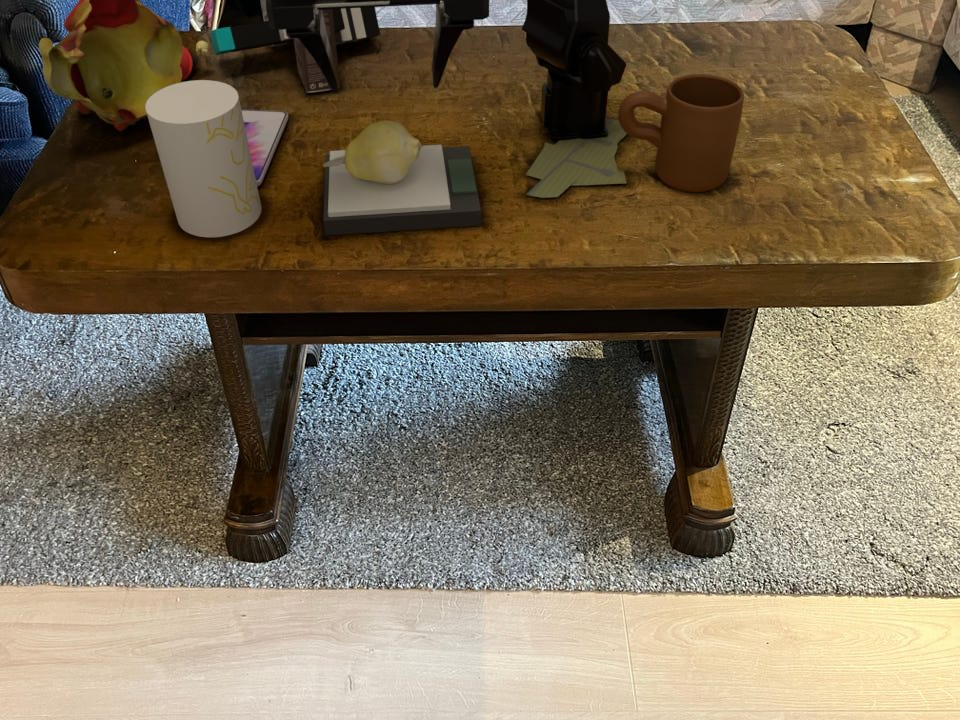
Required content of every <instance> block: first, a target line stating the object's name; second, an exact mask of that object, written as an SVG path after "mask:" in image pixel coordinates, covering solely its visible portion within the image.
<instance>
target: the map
mask: <svg viewBox="0 0 960 720" xmlns="http://www.w3.org/2000/svg"><path fill="white" fill-rule="evenodd" d="M605 125H606V127H607V130H608V132H609V133H608V136H607V137H604V138H593V139H570V140H560V141H556V143H555V144H554V143H553V144H552V143H549V142H544V145H543V148H542V150H541V152H540V153H539V154H538V155H537V157H536V158H535V160H534V162H533V163H532V165H530V168H529V169H528V171H527V172H526V174H525V175H526V176H527V177H528V176H529V177H532V178H534V179H535V178H536V179H539V182H537V183H536V184H535V185H534V186H533V187H532V188H531V189H530V190H529V191H528V192H527V193H526V195H527V196H530V197H535V198H541V199H546V198H547V199H548V198H559V197H560V195H562V194H563V193H564V192H565V191H566V190H567V189H569V187H570V186H571V187H572V186H573V187H574V186H595V185H596V186H597V185H598V186H599V185H618V184H627V179H626V174H625V171H623V170H619V169H618V166H617V163H616V160H615V155H616V153H617V150H618V148H619V146H618V144H619V143H620V141H621V140H622V139H624V137H626V136H627V135H628V134H627V133H626V132H625V131H624V130H623V128H622V126H621V125H620V122H619V119H614V118H607V117H606V120H605Z"/></svg>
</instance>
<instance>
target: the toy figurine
mask: <svg viewBox="0 0 960 720" xmlns="http://www.w3.org/2000/svg"><path fill="white" fill-rule="evenodd" d="M183 49H184V52H183V54H182V57H181V62H180V67H181V69H182V79H181V82H184V80H186V79H187V78H189V76H190V75H191V73H192V70H194V69H195V68H196V67H197V66H198V64H199V58H197V57H196V56H198V57H200V56H201V57H207V58H208V57H210V52H209V50H210V46H209V43H208V42H207V41H205V40H199V41H197V43H196V45H195V53H196V56H195V55H194V54H193V53H192V52H191V50H189V48H187V47H186V46H184V45H183Z"/></svg>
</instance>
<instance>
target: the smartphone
mask: <svg viewBox="0 0 960 720" xmlns="http://www.w3.org/2000/svg"><path fill="white" fill-rule="evenodd" d="M241 111H242V115H243V120H244V125H245V130H246V135H247V140H248V145H249V149H250V154H251V159H252V164H253V169H254V174H255V179H256V183H257V187H259V186H261V185H262V183H263V181H264V179H265V176H266V174H267V172H268V169H269V167H270V164H271V162H272V159H273V157H274V154H275V152H276V151H277V147H278V146H279V143H280V140H281V137H282V135H283V133H284V130H285V128H286V126H287V123H288V120H289V114H288V112H286V111H284V110H267V109H265V110H264V109H242V108H241Z"/></svg>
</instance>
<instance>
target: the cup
mask: <svg viewBox="0 0 960 720" xmlns="http://www.w3.org/2000/svg"><path fill="white" fill-rule="evenodd" d="M145 109H146V112H147V119H148V123H149V127H150V130H151V133H152V136H153V137H152V138H153V140H154V144H155V147H156V150H157V154H158V158H159V161H160V165H161V169H162V172H163V175H164V179H165V182H166V185H167V189H168V193H169V195H170V199H171V203H172V206H173V209H174V213H175V216H176V220H177V223H178V225H179V227H180V228H181V229H182V230H183V231H184V232H185V233H188V234H190V235H192V236H196V237H201V238H222V237H228V236H231V235H234V234H237V233H240V232H242V231H244V230H246V229H248V228H250V227H251V226H252V225H254V224H255V223H256V222H257V221H258V219H259V218H260V216H261V214H262V204H261V203H262V202H261V199H260V193H259V188H258V186H257V183H256V179H255V174H254V169H253V164H252V159H251V154H250V149H249V145H248V140H247V135H246V130H245V125H244V120H243V115H242V111H241V109H242V107H241V102H240V96H239V93H238V91H237V89H236V88H234V87H233V86H232V85H230V84H229V83H228V84H227V83H225V82H222V81H218V80H210V79H197V80H195V79H193V80H188V81H186V80H185V81H181V83H177V84H173V85H170V86H168V87H165V88H163V89H161V90H159V91H157V92H156V93H154V94H153V95H152V96H151V97H150V98H149V99H148V100H147V102H146V105H145Z"/></svg>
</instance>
